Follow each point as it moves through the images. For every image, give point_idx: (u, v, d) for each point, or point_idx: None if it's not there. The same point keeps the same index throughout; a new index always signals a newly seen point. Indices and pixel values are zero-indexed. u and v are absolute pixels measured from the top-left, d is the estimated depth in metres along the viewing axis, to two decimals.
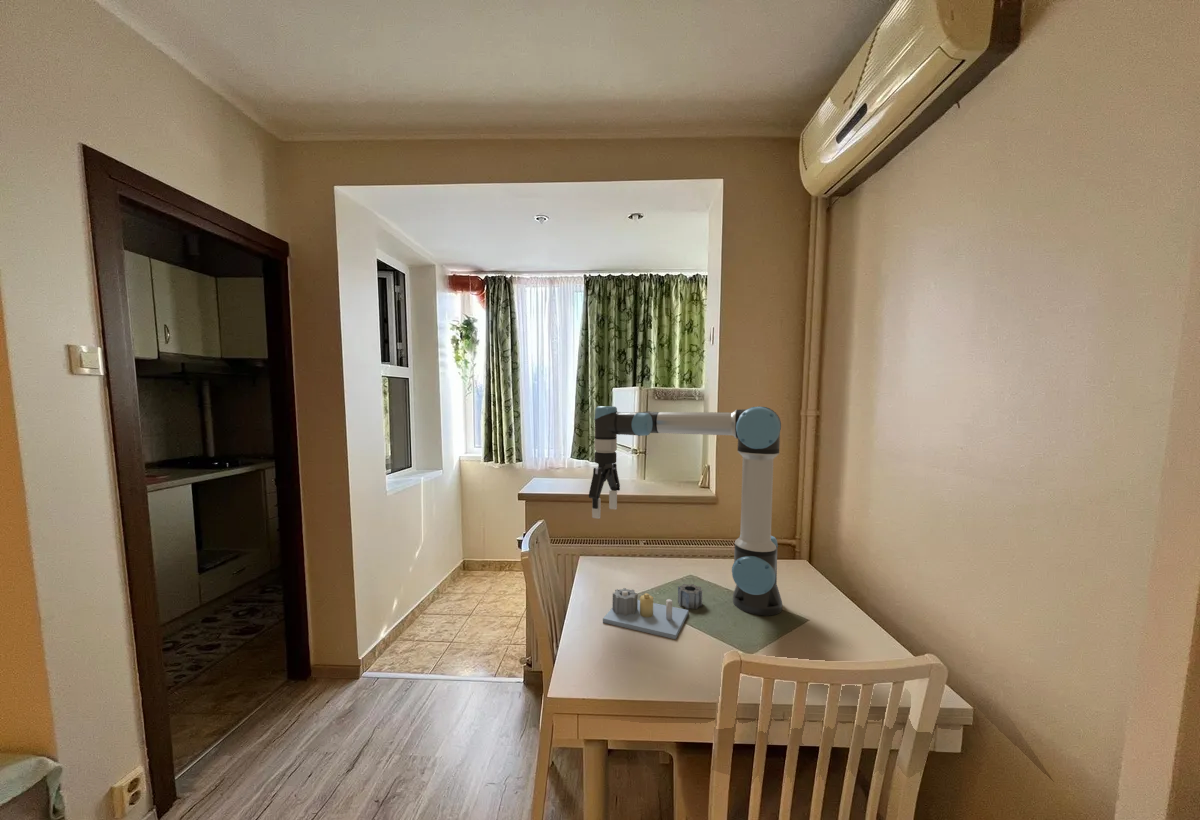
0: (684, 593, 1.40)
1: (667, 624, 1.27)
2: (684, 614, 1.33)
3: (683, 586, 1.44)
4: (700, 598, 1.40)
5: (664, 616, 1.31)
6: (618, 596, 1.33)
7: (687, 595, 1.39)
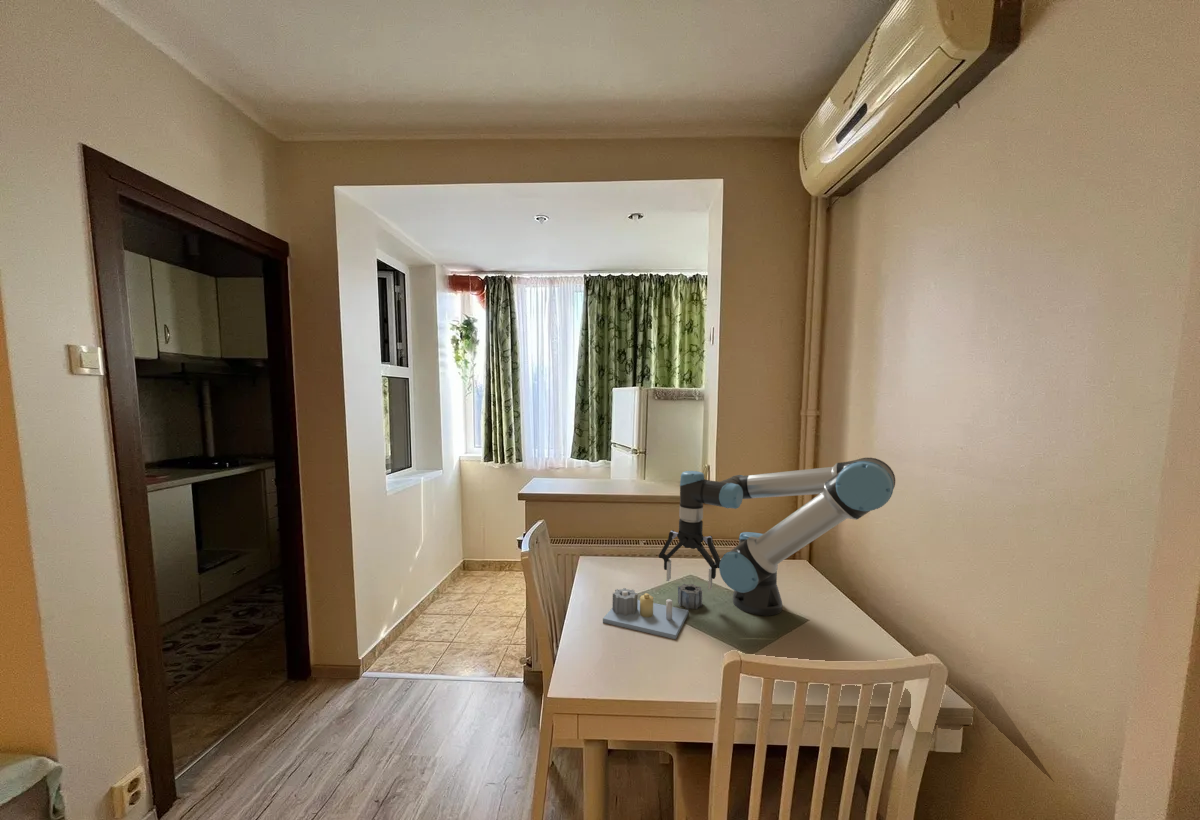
0: (684, 593, 1.40)
1: (667, 624, 1.27)
2: (684, 614, 1.33)
3: (683, 586, 1.44)
4: (700, 598, 1.40)
5: (664, 616, 1.31)
6: (618, 596, 1.33)
7: (687, 595, 1.39)
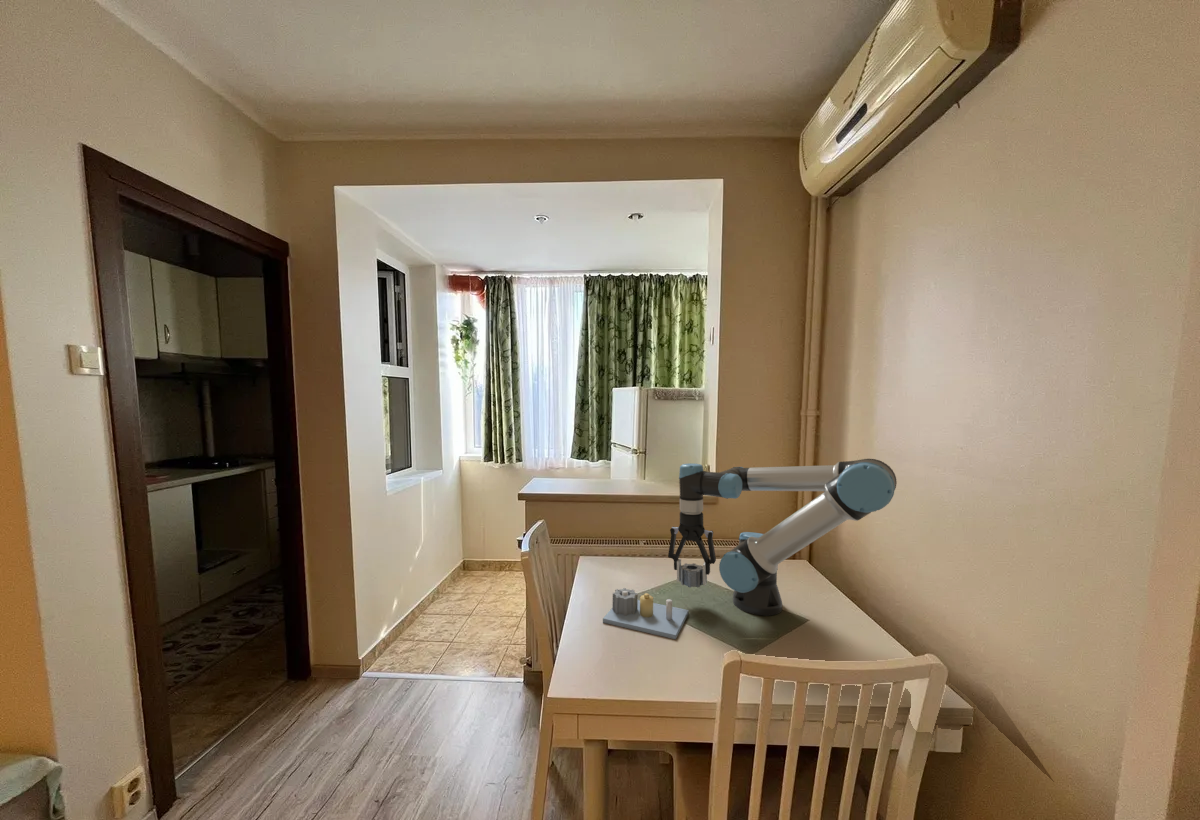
0: (686, 572, 1.40)
1: (667, 624, 1.27)
2: (684, 614, 1.33)
3: (685, 565, 1.43)
4: (702, 576, 1.40)
5: (664, 616, 1.31)
6: (618, 596, 1.33)
7: (689, 573, 1.38)
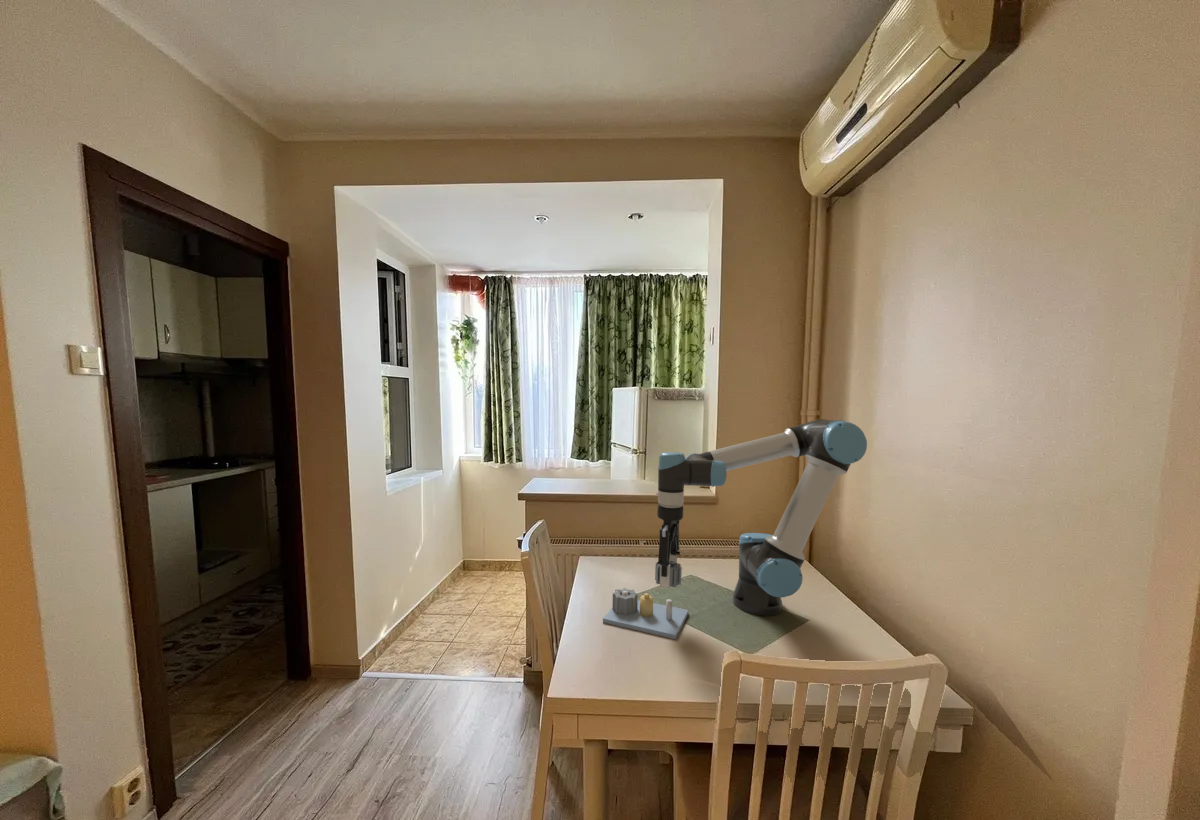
0: (677, 570, 1.27)
1: (667, 624, 1.27)
2: (684, 614, 1.33)
3: None
4: None
5: (664, 616, 1.31)
6: (618, 596, 1.33)
7: (681, 569, 1.28)
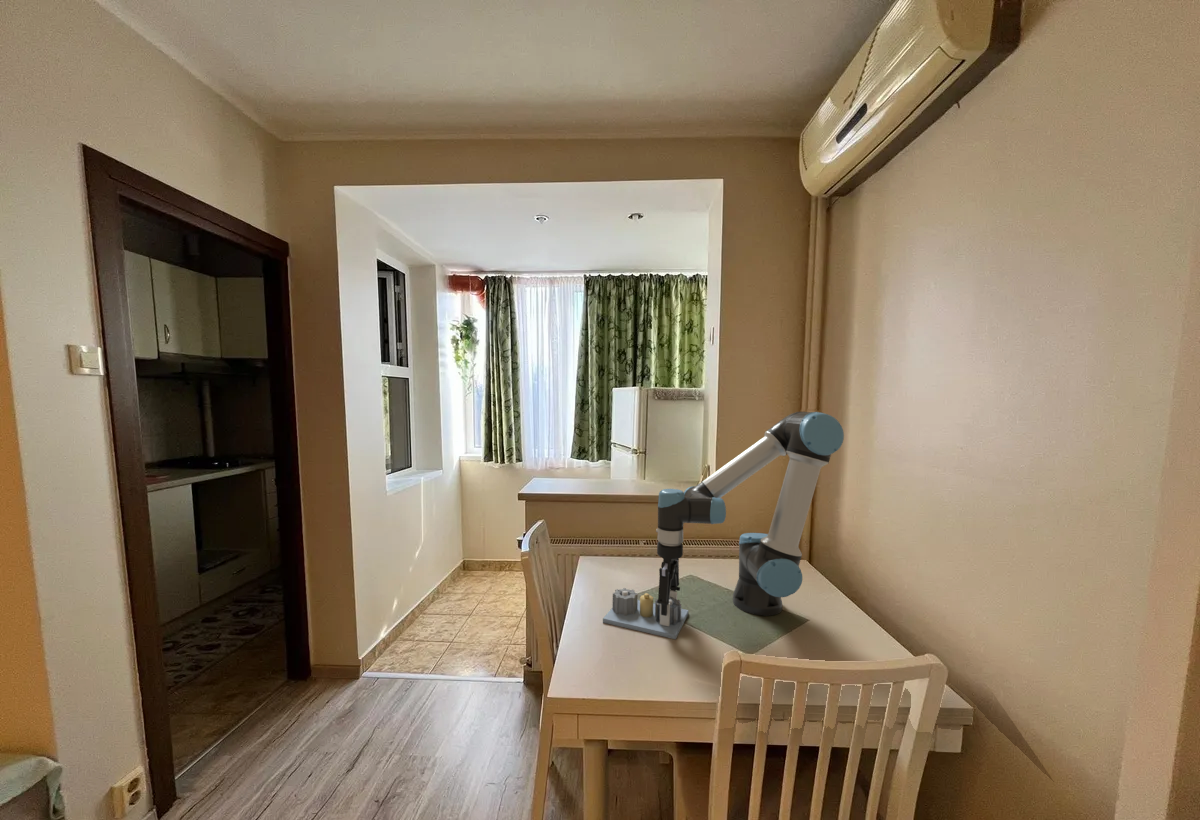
0: (677, 608, 1.27)
1: None
2: (684, 614, 1.33)
3: None
4: None
5: None
6: (618, 596, 1.33)
7: None
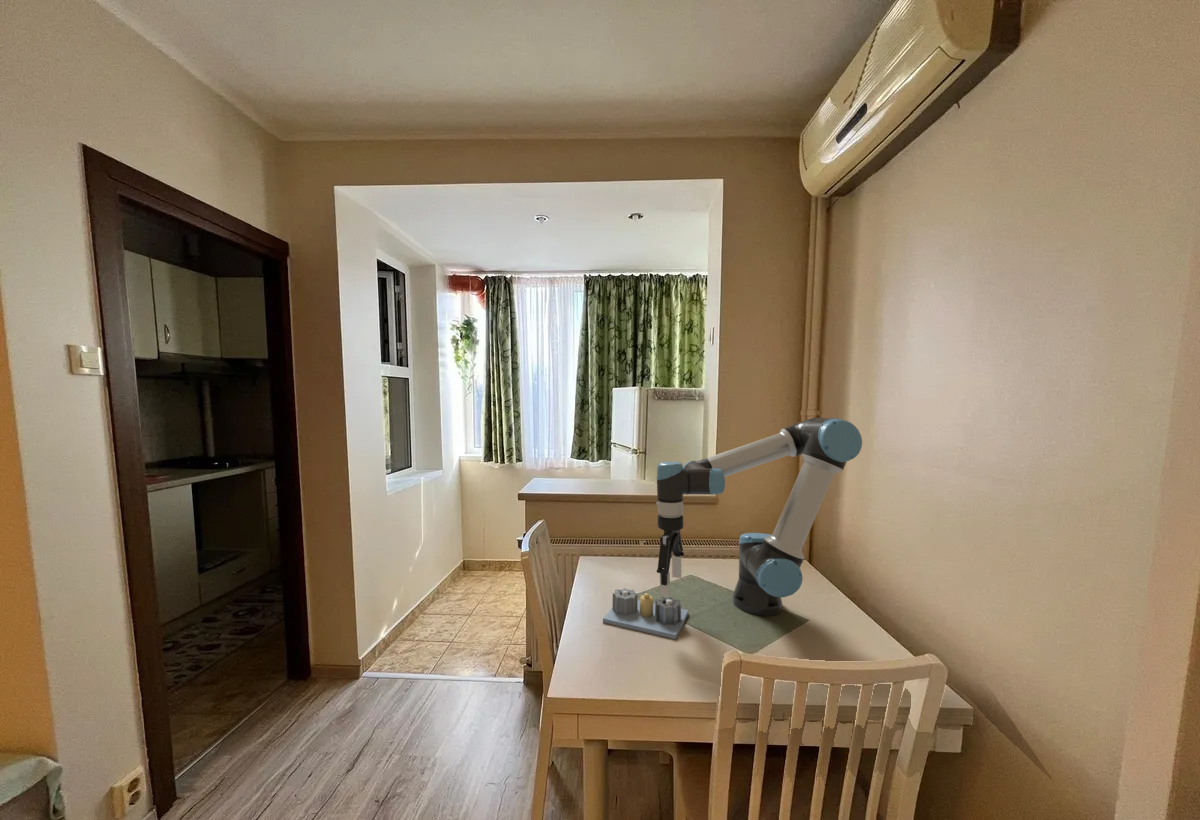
0: (677, 608, 1.27)
1: (667, 624, 1.27)
2: (684, 614, 1.33)
3: (664, 605, 1.28)
4: None
5: None
6: (618, 596, 1.33)
7: None
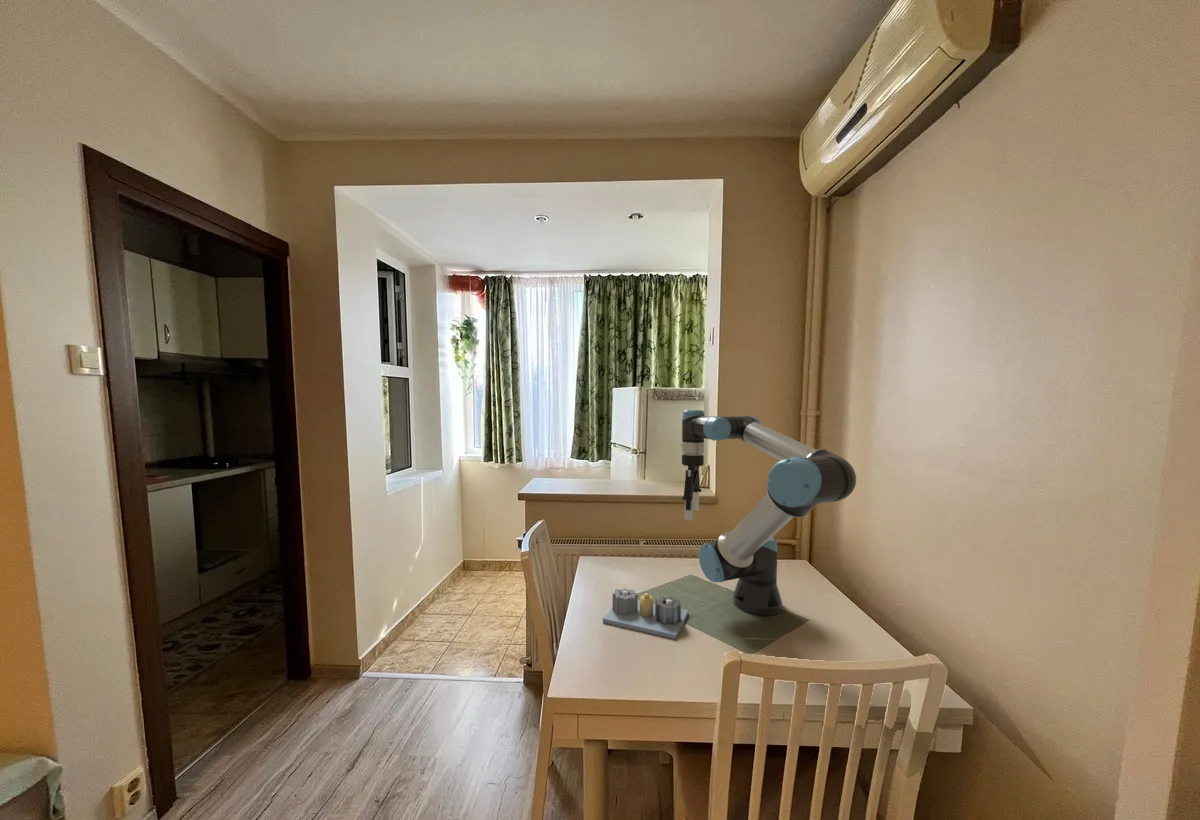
0: (677, 608, 1.27)
1: (667, 624, 1.27)
2: (684, 614, 1.33)
3: (664, 605, 1.28)
4: None
5: None
6: (618, 596, 1.33)
7: None
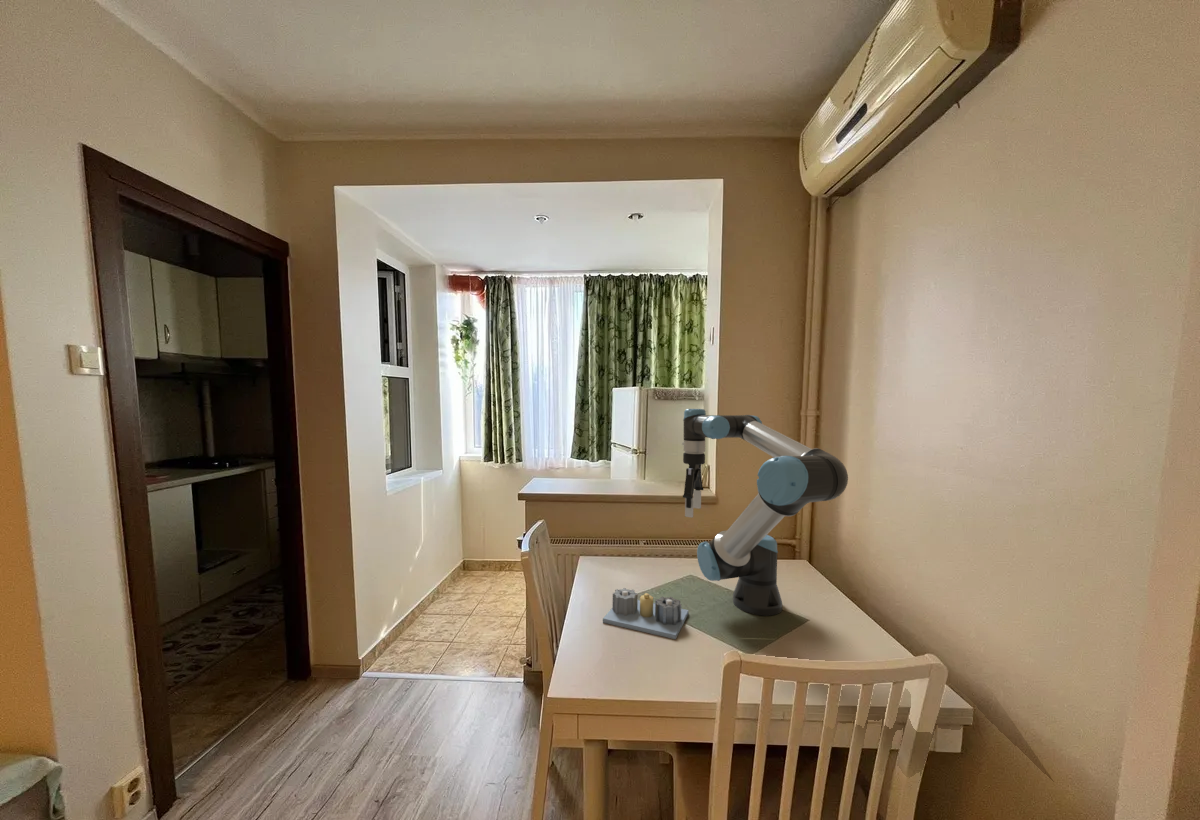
0: (677, 608, 1.27)
1: (667, 624, 1.27)
2: (684, 614, 1.33)
3: (664, 605, 1.28)
4: None
5: None
6: (618, 596, 1.33)
7: None
